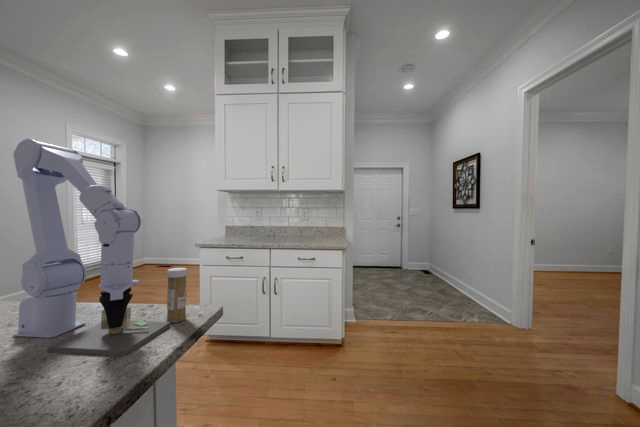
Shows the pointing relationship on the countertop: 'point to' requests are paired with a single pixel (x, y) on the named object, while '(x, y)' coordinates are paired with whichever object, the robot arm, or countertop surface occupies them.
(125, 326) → the peg
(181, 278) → the sprinkles bottle
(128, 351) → the dial board
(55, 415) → the countertop surface
